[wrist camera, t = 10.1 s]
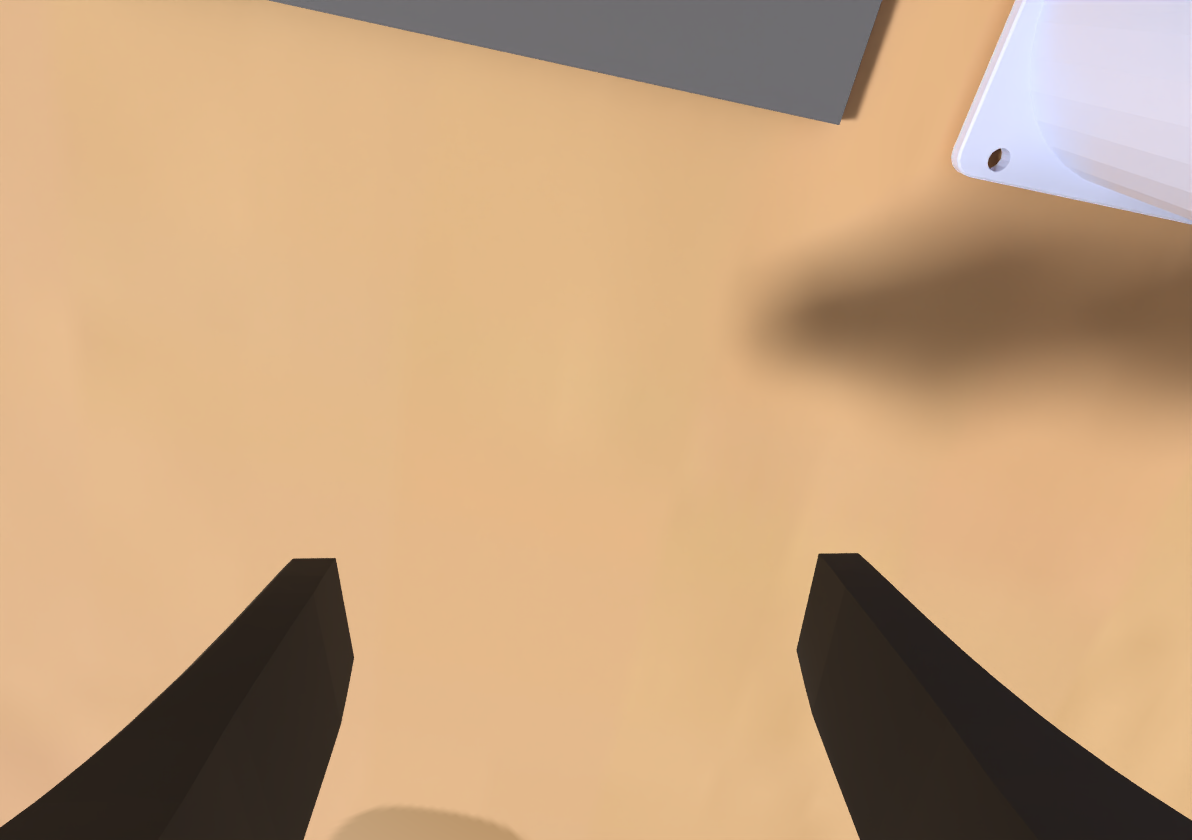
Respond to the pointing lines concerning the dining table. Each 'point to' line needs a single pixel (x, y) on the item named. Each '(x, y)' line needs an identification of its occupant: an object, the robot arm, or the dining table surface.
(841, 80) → the mat
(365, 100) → the dining table surface
